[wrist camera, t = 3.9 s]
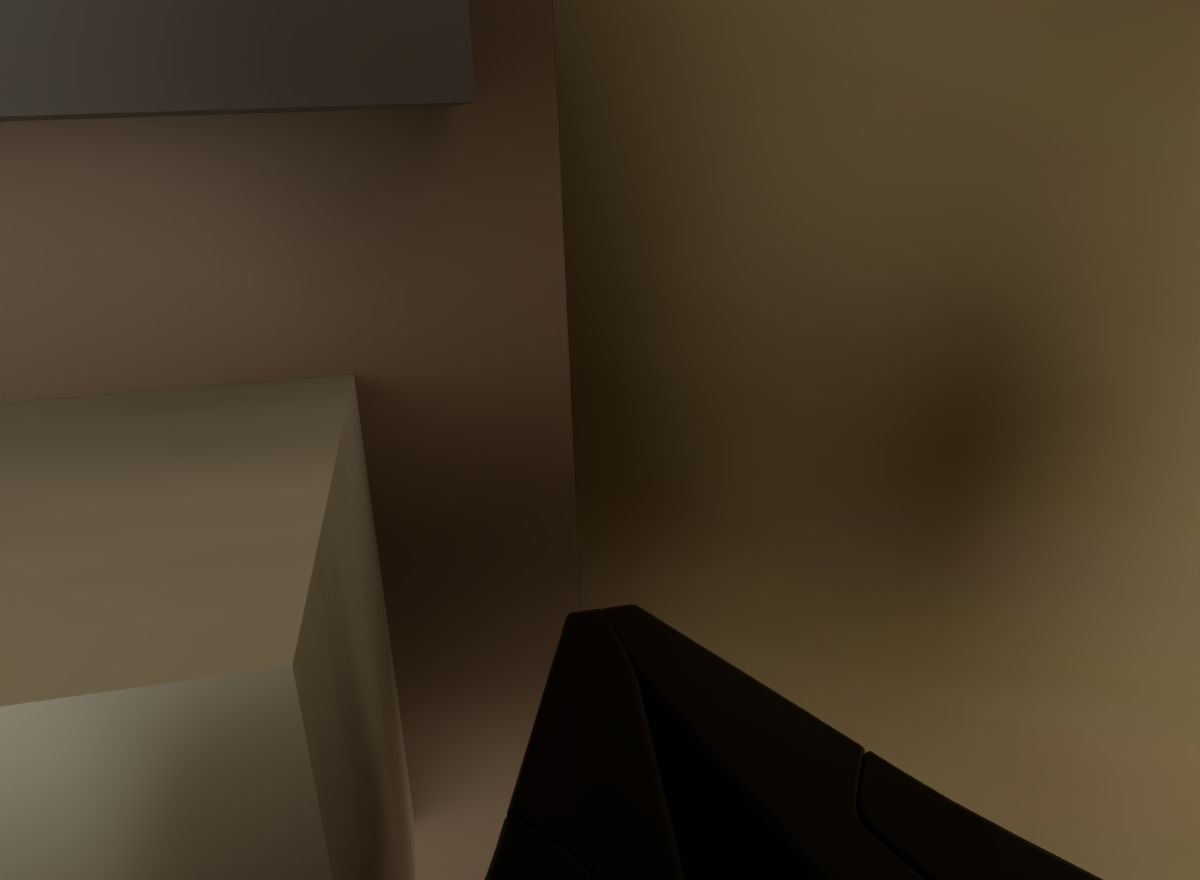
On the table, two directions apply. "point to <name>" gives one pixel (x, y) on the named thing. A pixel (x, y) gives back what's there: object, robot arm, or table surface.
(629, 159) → the table surface
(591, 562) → the table surface
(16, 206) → the channel board
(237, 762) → the cream block
